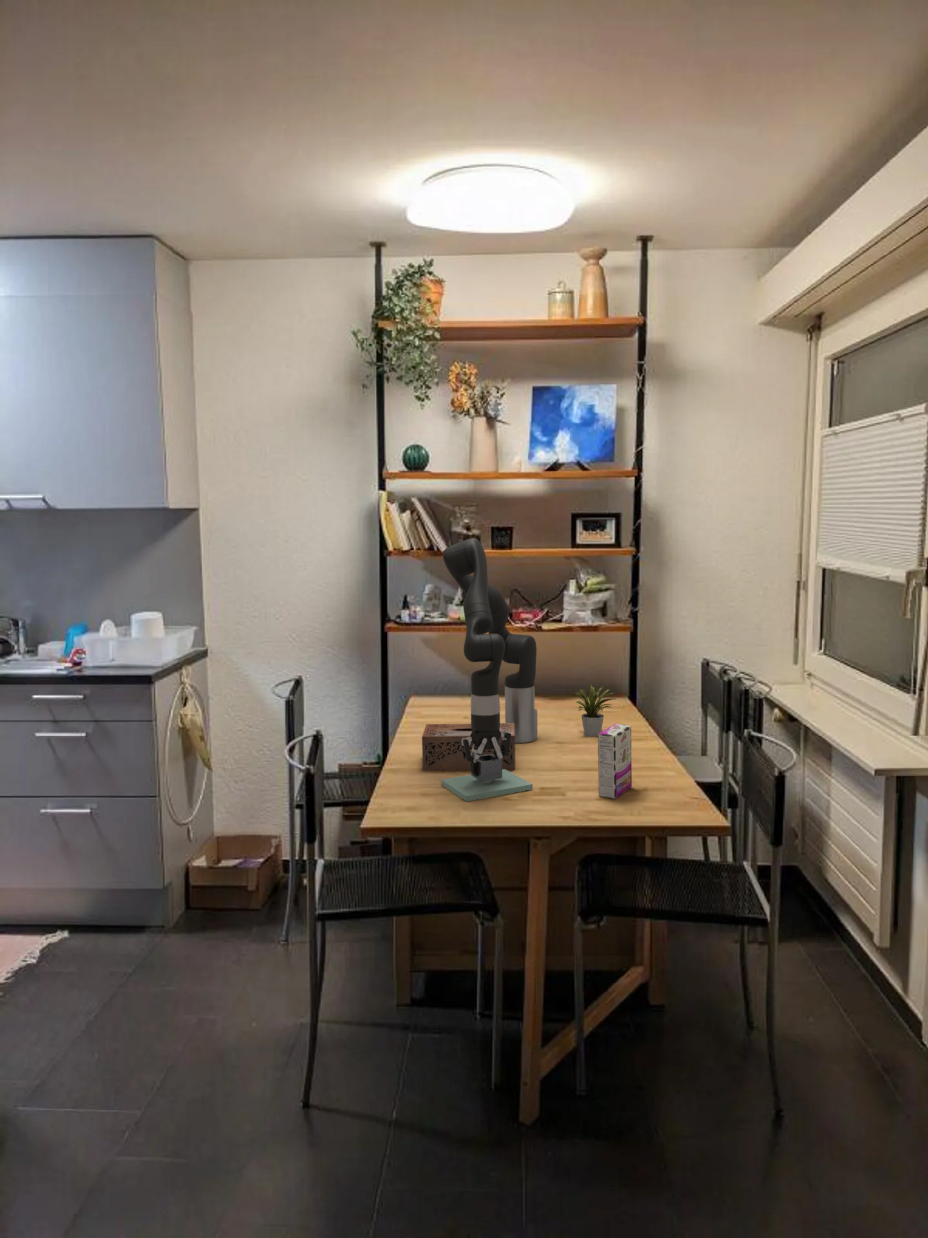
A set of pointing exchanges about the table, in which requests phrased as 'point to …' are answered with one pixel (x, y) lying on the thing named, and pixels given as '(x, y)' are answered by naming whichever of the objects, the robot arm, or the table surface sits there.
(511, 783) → the post board
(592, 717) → the house plant
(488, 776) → the open box
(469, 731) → the tissue box cover
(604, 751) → the candy bar box
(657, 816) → the table surface
